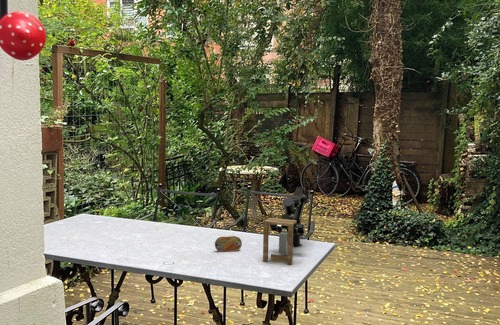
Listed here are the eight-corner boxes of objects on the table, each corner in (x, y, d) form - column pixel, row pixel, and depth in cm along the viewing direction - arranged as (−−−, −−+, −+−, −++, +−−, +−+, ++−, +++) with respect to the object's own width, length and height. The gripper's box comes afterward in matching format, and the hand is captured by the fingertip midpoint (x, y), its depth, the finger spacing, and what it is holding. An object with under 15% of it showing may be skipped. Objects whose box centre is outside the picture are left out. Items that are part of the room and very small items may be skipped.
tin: (215, 252, 253) (215, 237, 252) (214, 251, 256) (214, 236, 255) (241, 251, 257) (242, 236, 256) (240, 249, 260) (240, 235, 259)
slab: (282, 250, 253) (282, 230, 252) (289, 251, 251) (289, 231, 250) (278, 253, 246) (279, 233, 245) (285, 254, 245) (286, 234, 244)
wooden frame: (268, 256, 247) (269, 217, 245) (295, 259, 242) (296, 220, 241) (262, 261, 238) (263, 221, 236) (291, 265, 233) (292, 223, 231)
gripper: (271, 207, 254) (264, 231, 245) (304, 209, 248) (299, 234, 239) (274, 218, 262) (268, 242, 253) (306, 221, 256) (301, 245, 247)
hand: (284, 240), depth 248 cm, fingers closed on slab, 4 cm apart
